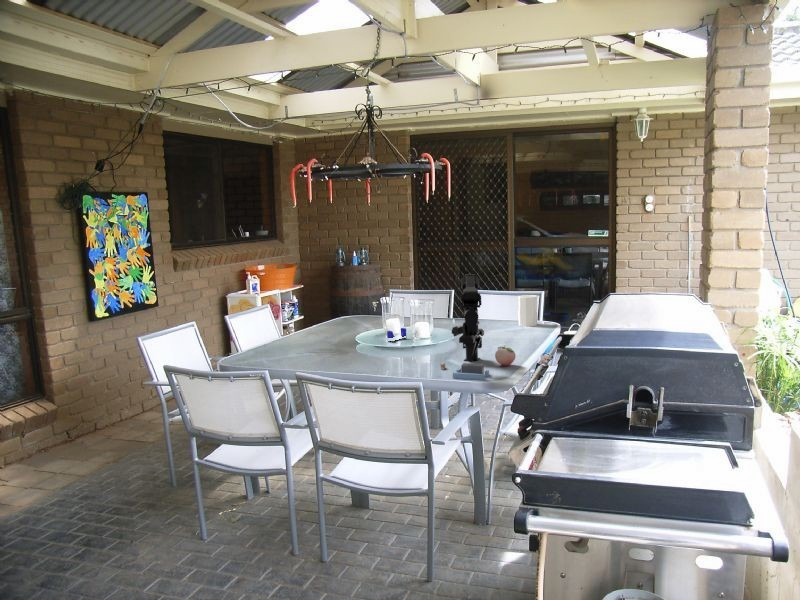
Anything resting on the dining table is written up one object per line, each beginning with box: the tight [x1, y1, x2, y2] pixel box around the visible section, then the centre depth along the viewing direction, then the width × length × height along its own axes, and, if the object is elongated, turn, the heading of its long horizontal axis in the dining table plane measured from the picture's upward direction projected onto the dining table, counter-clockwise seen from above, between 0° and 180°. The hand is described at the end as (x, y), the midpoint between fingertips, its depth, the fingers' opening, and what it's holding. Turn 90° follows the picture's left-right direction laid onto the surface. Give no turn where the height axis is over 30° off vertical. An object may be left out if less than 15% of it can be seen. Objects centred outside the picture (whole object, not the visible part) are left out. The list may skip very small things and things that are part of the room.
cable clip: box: [386, 327, 407, 338], centre depth 355 cm, size 12×4×6 cm, turn 133°
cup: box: [517, 294, 538, 328], centre depth 378 cm, size 11×11×18 cm
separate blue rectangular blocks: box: [452, 367, 490, 381], centre depth 267 cm, size 8×14×2 cm, turn 68°
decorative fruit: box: [494, 346, 516, 367], centre depth 282 cm, size 9×8×10 cm
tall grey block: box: [460, 362, 485, 374], centre depth 270 cm, size 4×9×5 cm, turn 70°
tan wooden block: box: [440, 362, 446, 371], centre depth 281 cm, size 3×14×2 cm, turn 68°
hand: (472, 355), depth 269 cm, fingers open, 4 cm apart
